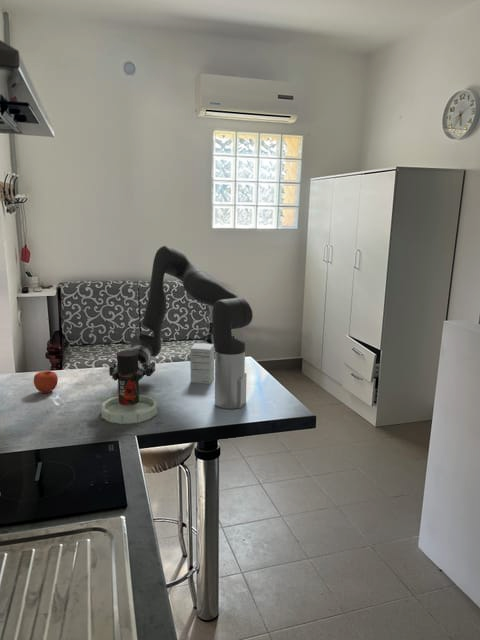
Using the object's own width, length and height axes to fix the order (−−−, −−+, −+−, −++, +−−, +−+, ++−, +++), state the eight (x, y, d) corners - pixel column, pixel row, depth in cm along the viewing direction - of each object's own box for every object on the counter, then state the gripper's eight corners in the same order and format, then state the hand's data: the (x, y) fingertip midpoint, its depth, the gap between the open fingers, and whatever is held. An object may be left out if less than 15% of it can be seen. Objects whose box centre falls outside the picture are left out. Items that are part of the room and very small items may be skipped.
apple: (36, 389, 162) (34, 366, 160) (59, 387, 164) (57, 364, 162) (33, 397, 155) (31, 373, 153) (57, 395, 157) (56, 371, 155)
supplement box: (194, 376, 177) (194, 342, 175) (214, 377, 176) (214, 343, 174) (189, 382, 170) (189, 348, 168) (210, 384, 169) (210, 349, 167)
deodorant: (141, 398, 147) (140, 350, 143) (135, 406, 141) (134, 356, 137) (122, 397, 147) (120, 349, 144) (115, 404, 141) (113, 355, 138)
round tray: (166, 405, 150) (165, 398, 149) (141, 426, 135) (140, 418, 134) (120, 399, 154) (119, 392, 154) (90, 419, 139) (90, 411, 139)
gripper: (114, 347, 155) (100, 364, 139) (159, 348, 155) (151, 365, 139) (115, 370, 157) (101, 389, 140) (160, 370, 157) (151, 390, 141)
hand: (126, 377), depth 140 cm, fingers closed on deodorant, 6 cm apart
